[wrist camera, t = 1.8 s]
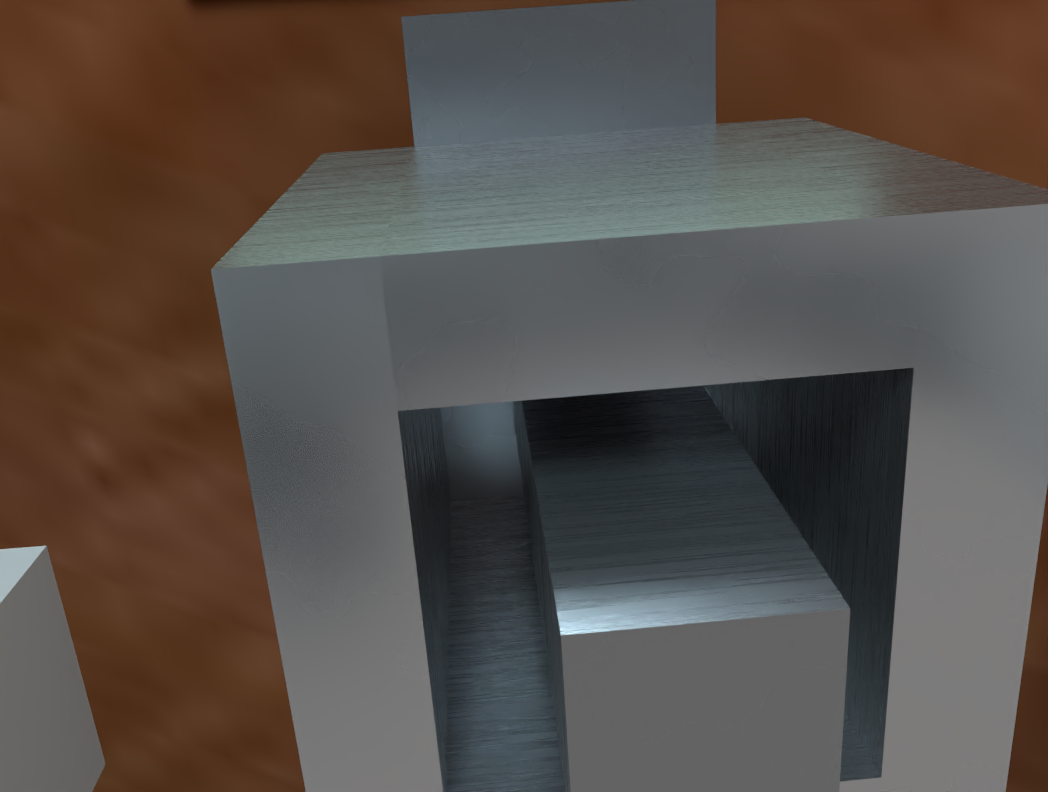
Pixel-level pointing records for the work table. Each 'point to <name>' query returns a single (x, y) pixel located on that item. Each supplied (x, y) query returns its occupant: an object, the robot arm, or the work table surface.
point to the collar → (634, 365)
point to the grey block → (638, 459)
